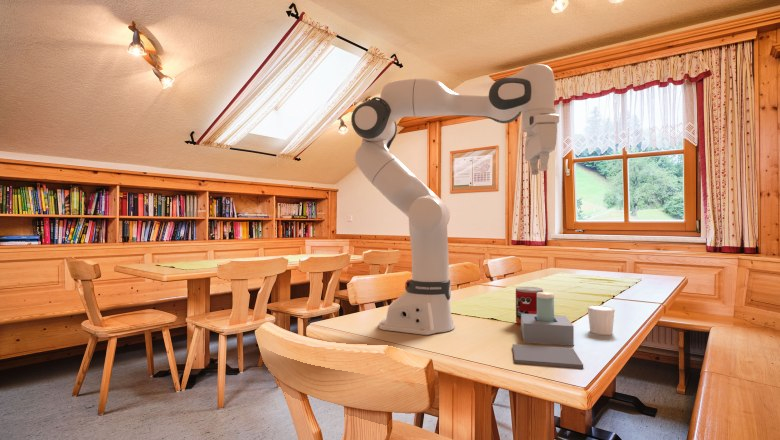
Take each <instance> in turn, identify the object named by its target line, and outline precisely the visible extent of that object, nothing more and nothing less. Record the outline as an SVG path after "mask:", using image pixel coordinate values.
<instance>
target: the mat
mask: <svg viewBox="0 0 780 440" xmlns="http://www.w3.org/2000/svg"><path fill="white" fill-rule="evenodd" d="M512 353H513V360H514V364H519V365H520V364H521V365H532V366H533V365H534V366H544V367H546V366H547V367H560V368H569V369H570V368H571V369H582V370H583V369H584V363H583V362H582V360H581V359H580V357H579V356H578V354H577V352H576V350H575V349H574V348H572V347H562V346H561V347H559V346H558V347H557V346H547V345H546V346H545V345H543V346H542V345H530V344H516V343H515V344H514V343H512Z"/></svg>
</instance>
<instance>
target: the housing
mask: <svg viewBox="0 0 780 440" xmlns="http://www.w3.org/2000/svg"><path fill="white" fill-rule="evenodd" d="M520 332H521V336H522V340H523V341H522V342H523V343H525V344H538V345H539V344H540V345H555V346H569V347H571V346H572V347H574V345H575V344H574V341H575V339H574V335H575V333H574V325H573V324H572V322H571V321H570V320H569V318H568V317H567V316H566V315H559V314H558V315H557V314H554V322H543V321H537V314H521V325H520Z"/></svg>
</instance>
